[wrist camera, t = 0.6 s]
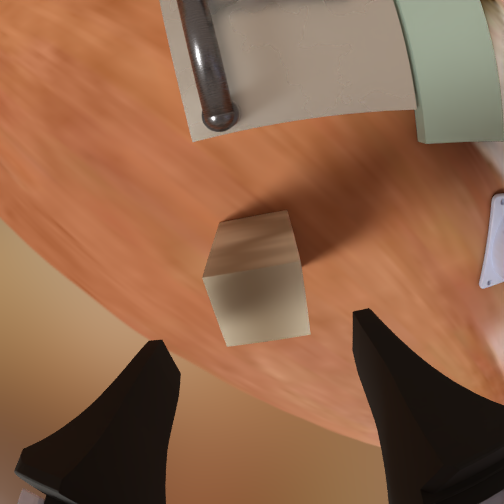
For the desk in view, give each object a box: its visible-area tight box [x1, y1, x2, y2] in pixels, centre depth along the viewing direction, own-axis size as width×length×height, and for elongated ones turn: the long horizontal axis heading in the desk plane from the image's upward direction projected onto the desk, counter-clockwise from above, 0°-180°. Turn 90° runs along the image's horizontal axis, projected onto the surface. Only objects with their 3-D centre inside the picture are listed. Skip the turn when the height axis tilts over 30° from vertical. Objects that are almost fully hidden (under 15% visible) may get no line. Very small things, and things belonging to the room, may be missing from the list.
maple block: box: [202, 210, 310, 346], centre depth 15 cm, size 4×4×6 cm
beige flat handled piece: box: [159, 0, 417, 142], centre depth 10 cm, size 12×10×5 cm
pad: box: [393, 0, 504, 144], centre depth 11 cm, size 7×14×1 cm, turn 12°
